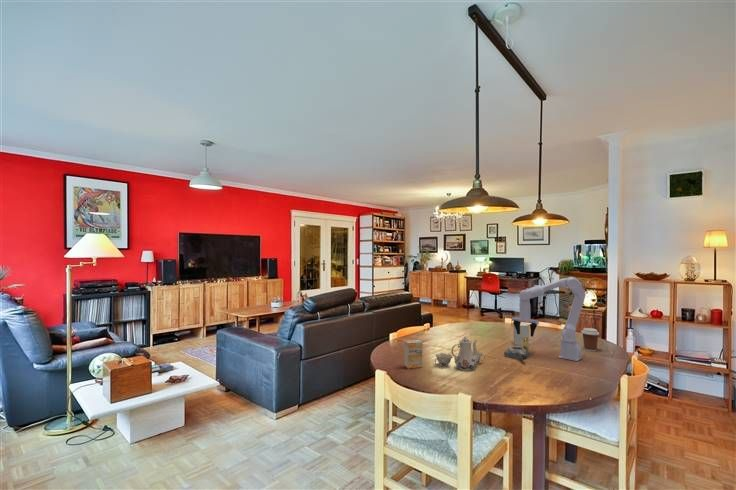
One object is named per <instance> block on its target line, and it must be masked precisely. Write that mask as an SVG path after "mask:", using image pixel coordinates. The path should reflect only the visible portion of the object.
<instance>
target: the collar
mask: <svg viewBox="0 0 736 490" xmlns="http://www.w3.org/2000/svg"><path fill="white" fill-rule="evenodd" d="M507 348H508V350H509V351H510V352H511V353H517V354H518V355H519V356H520V357H521V358H523V359H524V360H527V356H526V355H525V354H526V350H525V349H524V348H523V347H522V346H515V345H514V346H513V345H512V346H511V345H510V346H509V345H508V347H507ZM508 350H507V351H508Z"/></svg>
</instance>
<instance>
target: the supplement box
mask: <svg viewBox="0 0 736 490" xmlns="http://www.w3.org/2000/svg"><path fill="white" fill-rule="evenodd" d="M404 367H405V368H407V369H408V370H409V369H417V368H423V341H421V340H420V339H417V340H416V339H414V340H404Z"/></svg>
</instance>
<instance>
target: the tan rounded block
mask: <svg viewBox="0 0 736 490" xmlns="http://www.w3.org/2000/svg"><path fill="white" fill-rule="evenodd" d="M529 346H530V344H529V345H528V337H524V338H522V346H521V347H523V348H524V349H525V350H526V351H527V352H530V351H529V350H530V347H529Z"/></svg>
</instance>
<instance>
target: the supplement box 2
mask: <svg viewBox="0 0 736 490" xmlns="http://www.w3.org/2000/svg"><path fill="white" fill-rule="evenodd" d="M512 325H513V326H512V327H513V343H514V344H515V345H516V347H522V338H524V337H528V345H529V346H530V324H529V325H528V323H525V322H521V323H520V334H517V331H516V328H515V326H514V324H513V323H512Z"/></svg>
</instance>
